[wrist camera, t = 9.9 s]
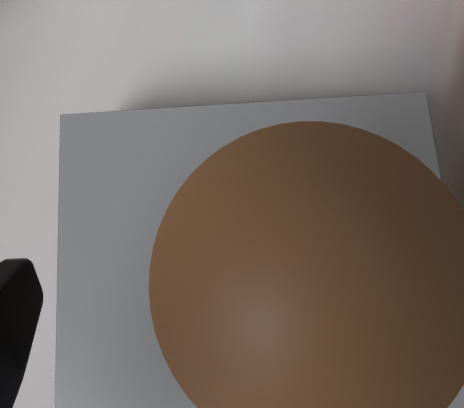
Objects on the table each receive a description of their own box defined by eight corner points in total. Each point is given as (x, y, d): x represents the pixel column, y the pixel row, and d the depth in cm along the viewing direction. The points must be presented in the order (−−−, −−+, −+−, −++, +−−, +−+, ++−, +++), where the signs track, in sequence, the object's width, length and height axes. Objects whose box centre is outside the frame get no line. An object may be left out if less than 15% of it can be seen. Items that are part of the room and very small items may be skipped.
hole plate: (446, 461, 16) (495, 499, 13) (86, 486, 15) (52, 532, 12) (394, 124, 18) (425, 91, 15) (88, 143, 18) (60, 114, 15)
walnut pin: (310, 301, 17) (557, 326, 4) (243, 350, 16) (275, 544, 4) (264, 234, 17) (350, 66, 5) (197, 279, 17) (86, 233, 4)
